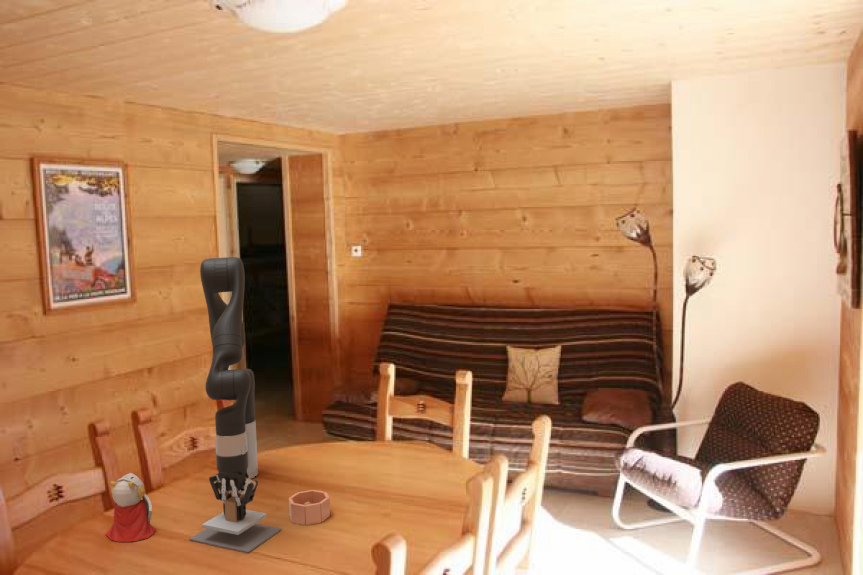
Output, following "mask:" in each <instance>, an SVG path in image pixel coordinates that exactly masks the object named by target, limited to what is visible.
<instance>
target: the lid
mask: <svg viewBox="0 0 863 575" xmlns="http://www.w3.org/2000/svg"><path fill="white" fill-rule="evenodd" d="M241 499H242V498H241ZM237 506H238V505H237V502H236V498H235V497H234V495H232V497H231V498H229V499H227V500H225V515H224V511H222V512H221V513H219V514H217V515H216V516H214V517H212V518H210V519H209V520H207V521H206V522H204V523H202V524H201V528H202V529H212V530H217V531H221V532H226V533H231V534H236V535H239V534H240V533H242V532H244V531H245V530H247V529H248V528H250V527H251V526H253V525H255V524H259V523H260V522H261V521H263V520H265V518H267V517H268V513H266V512H262V511H261V512H260V511H256V510H251V509H250V510H249V509H246V516H245V518H243V519H242V520H237Z"/></svg>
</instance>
